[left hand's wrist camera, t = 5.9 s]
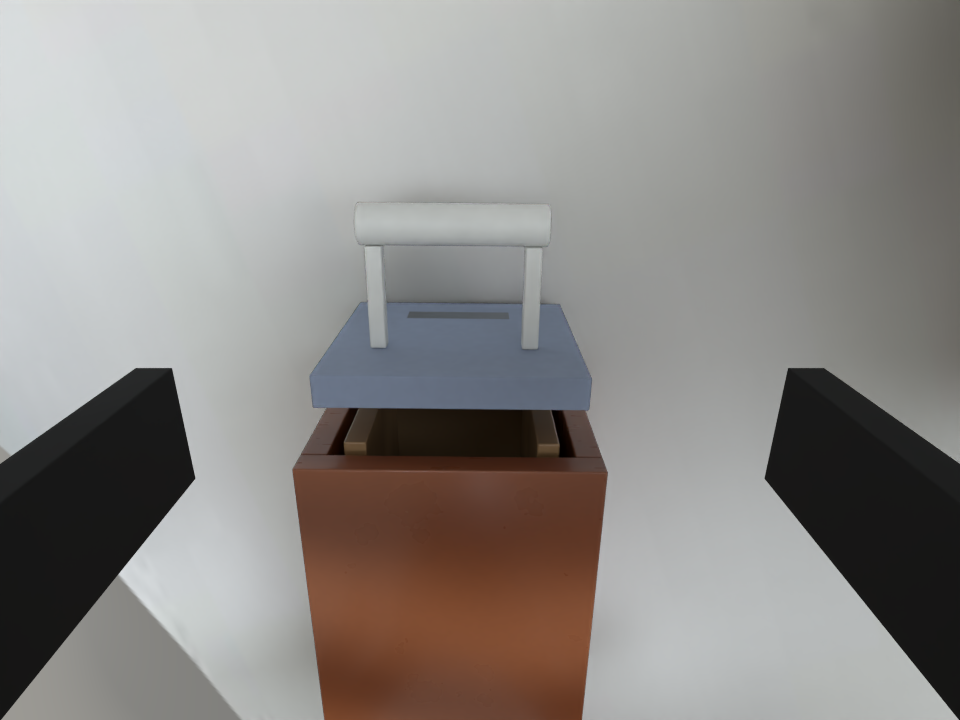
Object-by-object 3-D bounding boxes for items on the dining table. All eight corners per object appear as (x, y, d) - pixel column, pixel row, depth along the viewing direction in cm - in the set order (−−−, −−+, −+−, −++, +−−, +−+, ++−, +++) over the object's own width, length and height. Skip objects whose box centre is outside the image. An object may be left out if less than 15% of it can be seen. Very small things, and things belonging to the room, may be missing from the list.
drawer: (352, 185, 25) (291, 213, 17) (567, 187, 25) (606, 216, 17) (382, 620, 34) (351, 770, 26) (540, 622, 34) (557, 772, 26)
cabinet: (356, 353, 29) (291, 469, 19) (566, 356, 29) (608, 472, 19) (378, 659, 37) (341, 853, 27) (545, 661, 37) (568, 855, 27)
